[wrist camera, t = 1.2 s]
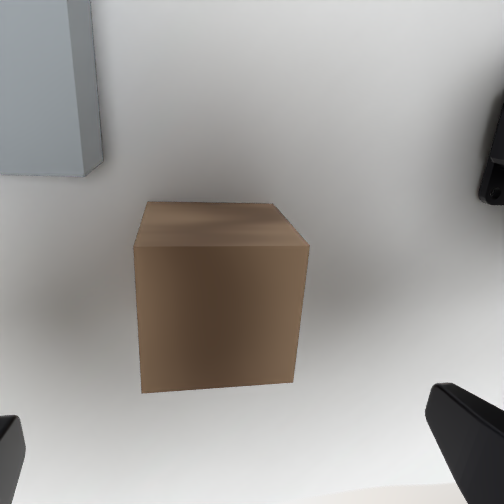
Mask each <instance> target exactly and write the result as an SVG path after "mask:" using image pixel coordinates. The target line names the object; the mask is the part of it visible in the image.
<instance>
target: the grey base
mask: <svg viewBox="0 0 504 504" xmlns="http://www.w3.org/2000/svg"><path fill="white" fill-rule="evenodd" d="M102 162H103V152H102V140H101V128H100V115H99V103H98V91H97V79H96V66H95V54H94V42H93V29H92V17H91V5H90V0H0V175H31V176H70V177H85V176H86V175H87V174H88V173H90V172H91V171H92V170H93V169H94V168H96V167H97V166H98V165H99V164H101V163H102Z"/></svg>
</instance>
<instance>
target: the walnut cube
mask: <svg viewBox="0 0 504 504" xmlns="http://www.w3.org/2000/svg"><path fill="white" fill-rule="evenodd" d="M309 248H310V245H309V244H308V243H307V242H306V241H305V240H304V239H303V237H302V236H301V235H300V234H299V233H298V232H297V231H296V229H295V228H294V227H293V226H292V225H291V224H290V223H289V221H288V220H287V219H286V218H285V217H284V216H283V215H282V213H281V212H280V211H279V210H278V209H277V208H276V207H275V206H274V204H269V203H207V202H147V205H146V208H145V211H144V214H143V217H142V221H141V224H140V227H139V230H138V233H137V237H136V240H135V243H134V246H133V249H134V267H135V284H136V302H137V320H138V337H139V355H140V373H141V391H142V393H155V392H169V391H182V390H196V389H210V388H224V387H237V386H251V385H265V384H279V383H293V378H294V370H295V362H296V354H297V346H298V338H299V330H300V321H301V313H302V305H303V297H304V289H305V281H306V273H307V265H308V256H309Z"/></svg>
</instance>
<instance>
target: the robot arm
mask: <svg viewBox="0 0 504 504" xmlns="http://www.w3.org/2000/svg"><path fill="white" fill-rule="evenodd" d="M493 189H494V193H493V195H491V196H490V193H491V192H492V190H493ZM479 199H480V200H481V201H482V202H484V203H487V204H490V205H504V104H503V107H502V111H501V115H500V118H499V122H498V125H497V129H496V132H495V136H494V140H493V143H492V147H491V150H490V154H489V157H488V161H487V165H486V168H485V172H484V175H483V179H482V182H481V186H480V190H479ZM425 416H426V420H427V423H428V425H429V427H430V429H431V431H432V433H433V435H434V437H435V439H436V442H437V444H438V446H439V448H440V450H441V452H442V454H443V456H444V458H445V461H446V463H447V465H448V467H449V469H450V471H451V473H452V475H453V477H454V479H455V481H456V483H457V485H458V487H459V489H460V491H461V492H462V494H463V496H464V498H465V499H466V501H467V503H468V504H504V411H503V410H501V409H499V408H498V407H496V406H494V405H492V404H490V403H488V402H487V401H485V400H483V399H481V398H479V397H477V396H475V395H474V394H472V393H470V392H468V391H466V390H464V389H463V388H461V387H459V386H457V385H455V384H453V383H437V384H434V385H433V386H432V388H431V392H430V395H429V399H428V402H427V405H426V409H425ZM25 451H26V446H25V441H24V436H23V431H22V427H21V422H20V419H19V417H18V416H17V415H4V416H0V504H12V500H13V497H14V493H15V490H16V486H17V483H18V479H19V476H20V472H21V469H22V465H23V461H24V458H25Z"/></svg>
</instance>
